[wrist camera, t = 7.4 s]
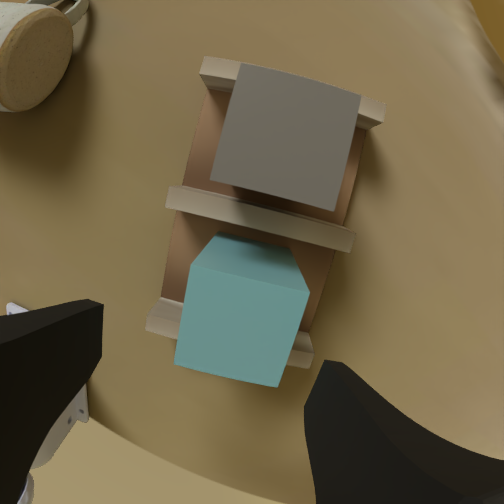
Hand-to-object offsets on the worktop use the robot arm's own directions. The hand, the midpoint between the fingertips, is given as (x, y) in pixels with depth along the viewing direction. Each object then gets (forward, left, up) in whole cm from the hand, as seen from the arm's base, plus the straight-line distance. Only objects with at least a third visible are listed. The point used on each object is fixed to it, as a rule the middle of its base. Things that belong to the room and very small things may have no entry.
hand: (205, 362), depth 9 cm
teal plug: (+1, -1, -9) cm, 9 cm away
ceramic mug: (+13, +18, -10) cm, 24 cm away
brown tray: (+4, -1, -9) cm, 10 cm away
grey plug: (+7, -1, -9) cm, 11 cm away
